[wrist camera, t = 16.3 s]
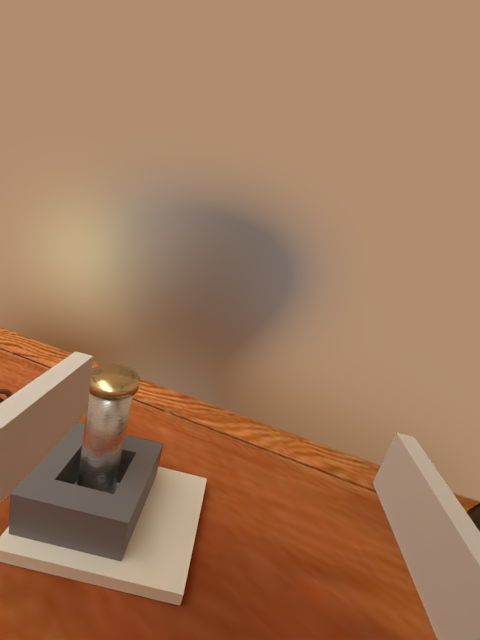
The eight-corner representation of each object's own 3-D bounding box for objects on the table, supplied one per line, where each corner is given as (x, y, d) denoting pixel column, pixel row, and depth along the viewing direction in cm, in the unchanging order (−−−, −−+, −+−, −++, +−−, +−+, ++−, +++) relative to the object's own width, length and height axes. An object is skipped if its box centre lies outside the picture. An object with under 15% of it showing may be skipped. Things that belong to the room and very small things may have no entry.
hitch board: (204, 487, 43) (215, 448, 41) (180, 605, 30) (194, 556, 28) (74, 454, 43) (79, 414, 41) (-10, 559, 29) (-9, 506, 27)
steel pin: (123, 489, 38) (147, 372, 33) (104, 525, 33) (128, 396, 29) (84, 478, 38) (102, 360, 33) (60, 513, 33) (76, 382, 29)
